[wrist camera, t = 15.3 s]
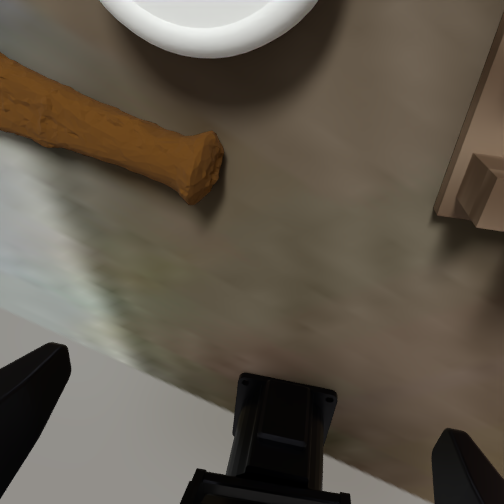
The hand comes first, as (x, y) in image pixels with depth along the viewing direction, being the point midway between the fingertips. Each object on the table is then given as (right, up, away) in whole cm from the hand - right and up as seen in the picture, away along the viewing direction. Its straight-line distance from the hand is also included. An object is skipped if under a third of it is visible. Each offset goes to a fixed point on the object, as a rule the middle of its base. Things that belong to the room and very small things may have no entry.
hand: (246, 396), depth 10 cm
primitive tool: (-11, +11, +11) cm, 19 cm away
